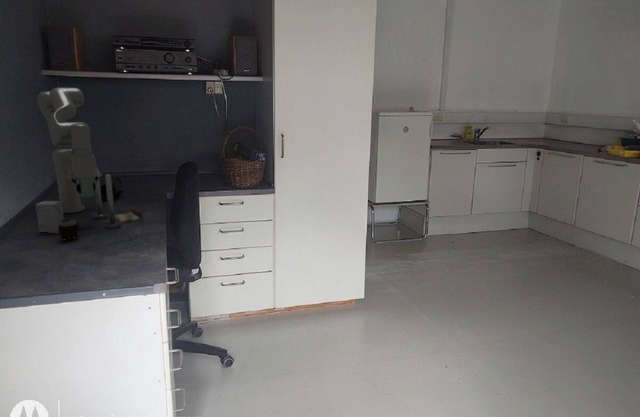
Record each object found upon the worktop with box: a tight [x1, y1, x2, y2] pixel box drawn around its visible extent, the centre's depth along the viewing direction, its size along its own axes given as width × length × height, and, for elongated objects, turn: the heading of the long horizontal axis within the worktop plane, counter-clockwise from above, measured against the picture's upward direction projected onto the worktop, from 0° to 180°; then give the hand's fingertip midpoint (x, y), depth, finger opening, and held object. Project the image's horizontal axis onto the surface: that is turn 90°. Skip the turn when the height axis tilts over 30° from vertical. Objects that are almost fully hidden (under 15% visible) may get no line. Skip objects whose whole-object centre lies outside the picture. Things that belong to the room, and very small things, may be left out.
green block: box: [79, 177, 95, 199], centre depth 217 cm, size 5×5×9 cm
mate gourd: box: [51, 204, 79, 240], centre depth 198 cm, size 8×8×15 cm
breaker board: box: [115, 207, 144, 224], centre depth 231 cm, size 10×12×4 cm
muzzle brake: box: [100, 174, 123, 201], centre depth 276 cm, size 10×28×10 cm, turn 16°
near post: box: [103, 173, 122, 229], centre depth 215 cm, size 7×7×24 cm
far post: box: [91, 167, 109, 220], centre depth 230 cm, size 7×7×24 cm
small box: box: [35, 200, 65, 234], centre depth 208 cm, size 8×6×13 cm
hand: (86, 191), depth 217 cm, fingers closed on green block, 5 cm apart
